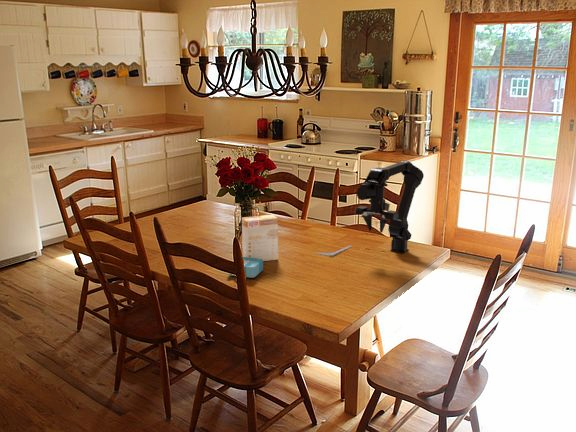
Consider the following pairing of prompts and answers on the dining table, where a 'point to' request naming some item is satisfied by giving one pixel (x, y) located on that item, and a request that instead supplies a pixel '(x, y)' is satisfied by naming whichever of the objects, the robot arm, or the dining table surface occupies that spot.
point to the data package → (252, 266)
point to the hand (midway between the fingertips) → (375, 231)
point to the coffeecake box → (260, 237)
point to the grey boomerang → (334, 252)
